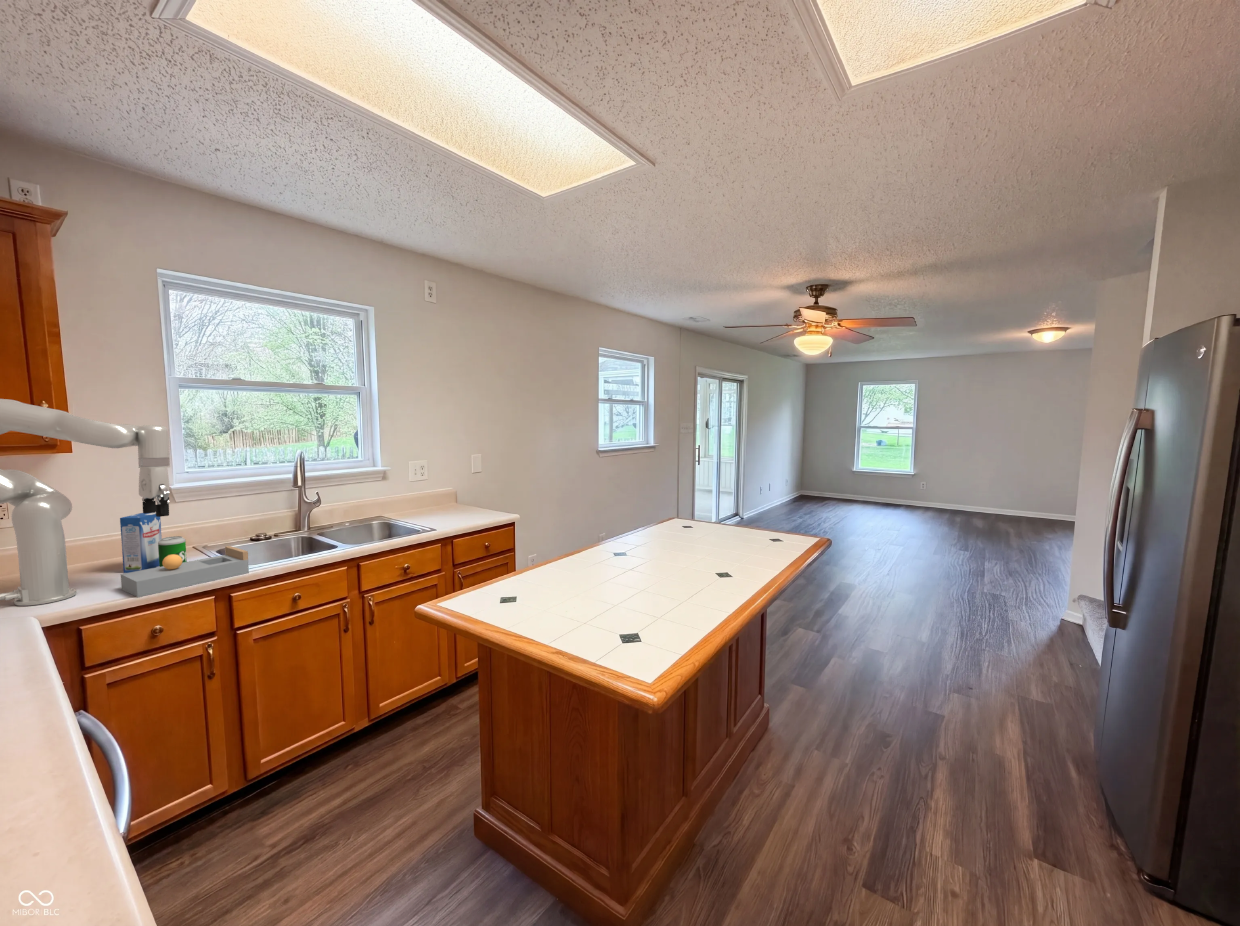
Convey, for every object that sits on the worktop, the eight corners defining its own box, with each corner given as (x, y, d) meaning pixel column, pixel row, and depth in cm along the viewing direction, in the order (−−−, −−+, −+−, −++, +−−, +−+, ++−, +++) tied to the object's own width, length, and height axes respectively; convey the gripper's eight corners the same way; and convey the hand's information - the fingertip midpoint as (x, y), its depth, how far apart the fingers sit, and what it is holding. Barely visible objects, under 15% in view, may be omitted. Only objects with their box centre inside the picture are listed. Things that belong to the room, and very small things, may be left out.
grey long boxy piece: (137, 597, 154) (136, 572, 154) (121, 589, 161) (120, 565, 161) (248, 572, 180) (247, 551, 179) (230, 566, 187) (229, 545, 186)
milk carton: (144, 565, 188) (141, 512, 186) (163, 564, 189) (160, 512, 187) (123, 573, 178) (119, 517, 176) (143, 572, 179) (140, 517, 177)
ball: (166, 572, 163) (165, 557, 163) (160, 569, 166) (159, 555, 166) (185, 568, 168) (184, 554, 167) (179, 566, 170) (178, 551, 170)
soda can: (174, 573, 178) (172, 540, 177) (153, 573, 178) (151, 540, 177) (192, 567, 186) (190, 535, 185) (172, 567, 186) (171, 535, 185)
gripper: (127, 461, 164) (129, 513, 165) (151, 465, 156) (152, 519, 157) (157, 461, 171) (158, 510, 172) (180, 464, 163) (182, 515, 164)
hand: (155, 514), depth 165 cm, fingers open, 9 cm apart
